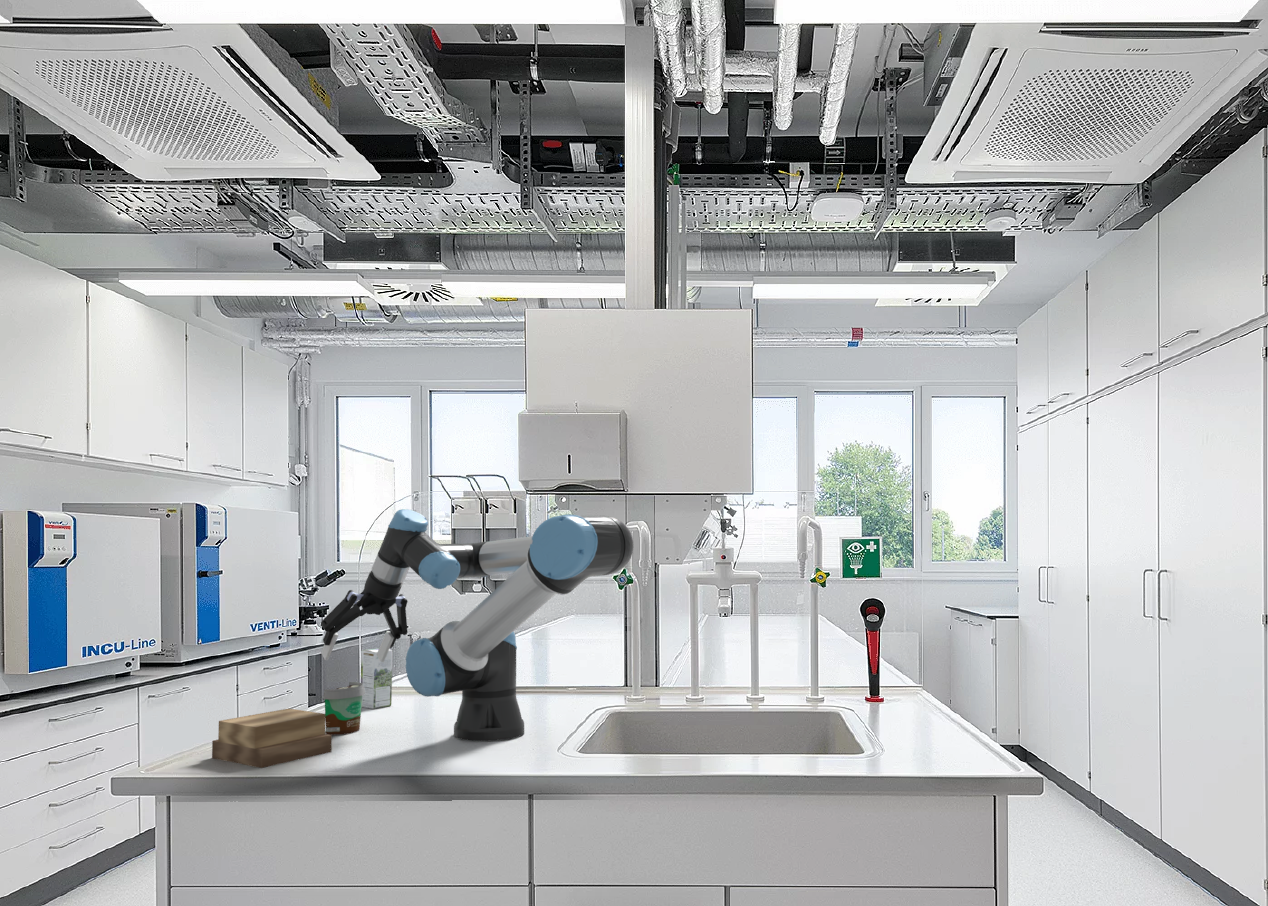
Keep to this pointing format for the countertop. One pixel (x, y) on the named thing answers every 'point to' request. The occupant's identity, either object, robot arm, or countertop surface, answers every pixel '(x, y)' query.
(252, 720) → the tower top
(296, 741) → the tower base
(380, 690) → the syrup box
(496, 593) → the robot arm
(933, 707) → the countertop surface
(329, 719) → the food container
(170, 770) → the countertop surface
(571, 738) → the countertop surface
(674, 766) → the countertop surface
